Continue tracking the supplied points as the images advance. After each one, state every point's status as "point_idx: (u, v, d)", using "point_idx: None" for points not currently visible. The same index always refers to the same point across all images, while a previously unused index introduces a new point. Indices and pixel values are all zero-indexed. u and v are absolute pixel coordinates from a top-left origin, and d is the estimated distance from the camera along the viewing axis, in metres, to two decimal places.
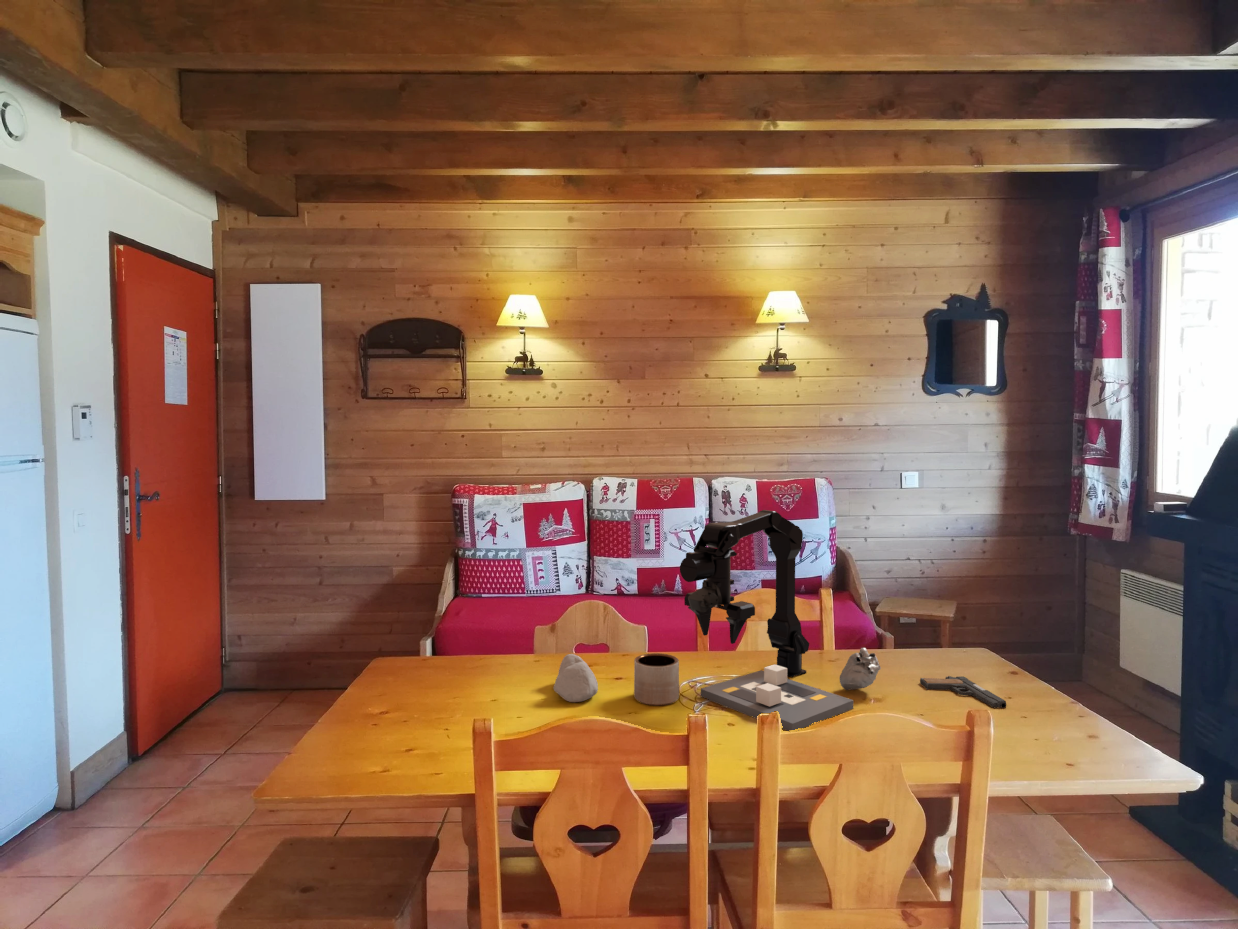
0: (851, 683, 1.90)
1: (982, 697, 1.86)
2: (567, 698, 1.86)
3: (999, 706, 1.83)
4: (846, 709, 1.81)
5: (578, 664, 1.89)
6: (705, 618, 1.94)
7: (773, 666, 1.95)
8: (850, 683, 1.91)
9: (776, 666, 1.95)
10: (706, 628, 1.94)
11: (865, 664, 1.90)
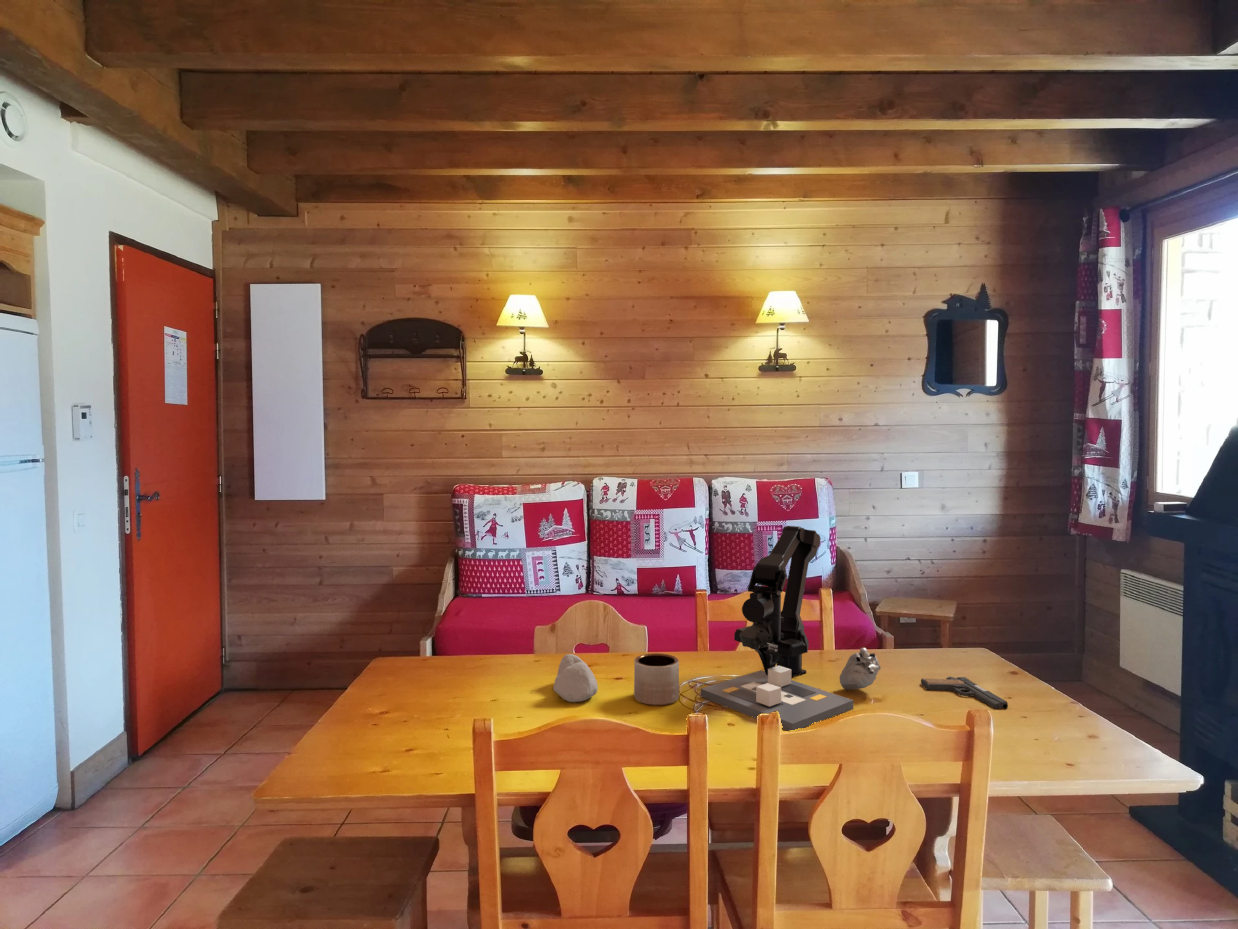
0: (851, 683, 1.90)
1: (984, 698, 1.86)
2: (567, 698, 1.86)
3: (1000, 707, 1.82)
4: (846, 709, 1.81)
5: (578, 664, 1.89)
6: None
7: (777, 667, 1.94)
8: (850, 683, 1.91)
9: (780, 667, 1.94)
10: None
11: (865, 664, 1.90)
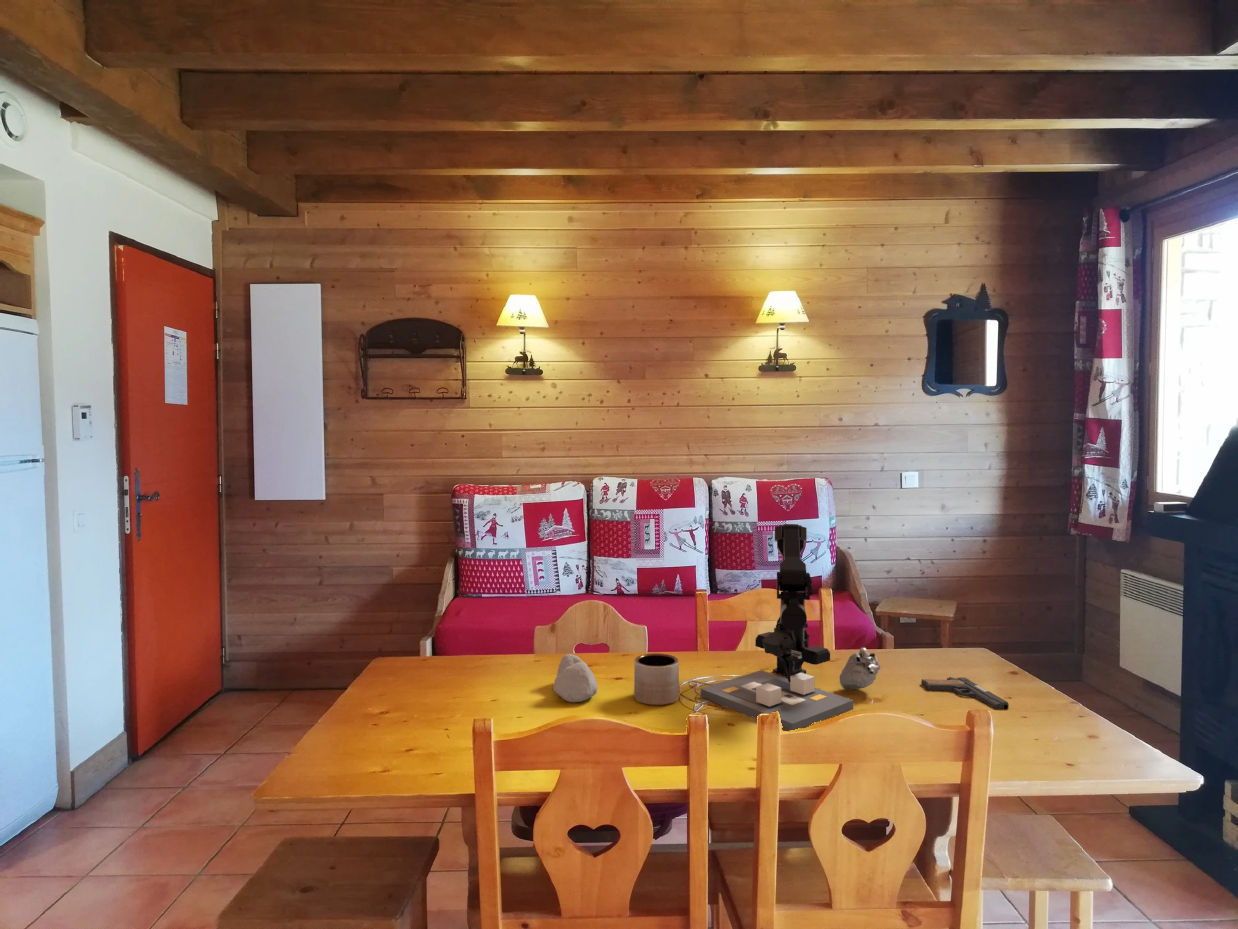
0: (851, 683, 1.90)
1: (984, 698, 1.86)
2: (567, 698, 1.86)
3: (1001, 707, 1.82)
4: (846, 709, 1.81)
5: (578, 664, 1.89)
6: None
7: (799, 674, 1.89)
8: (850, 683, 1.91)
9: (803, 674, 1.89)
10: None
11: (865, 664, 1.90)
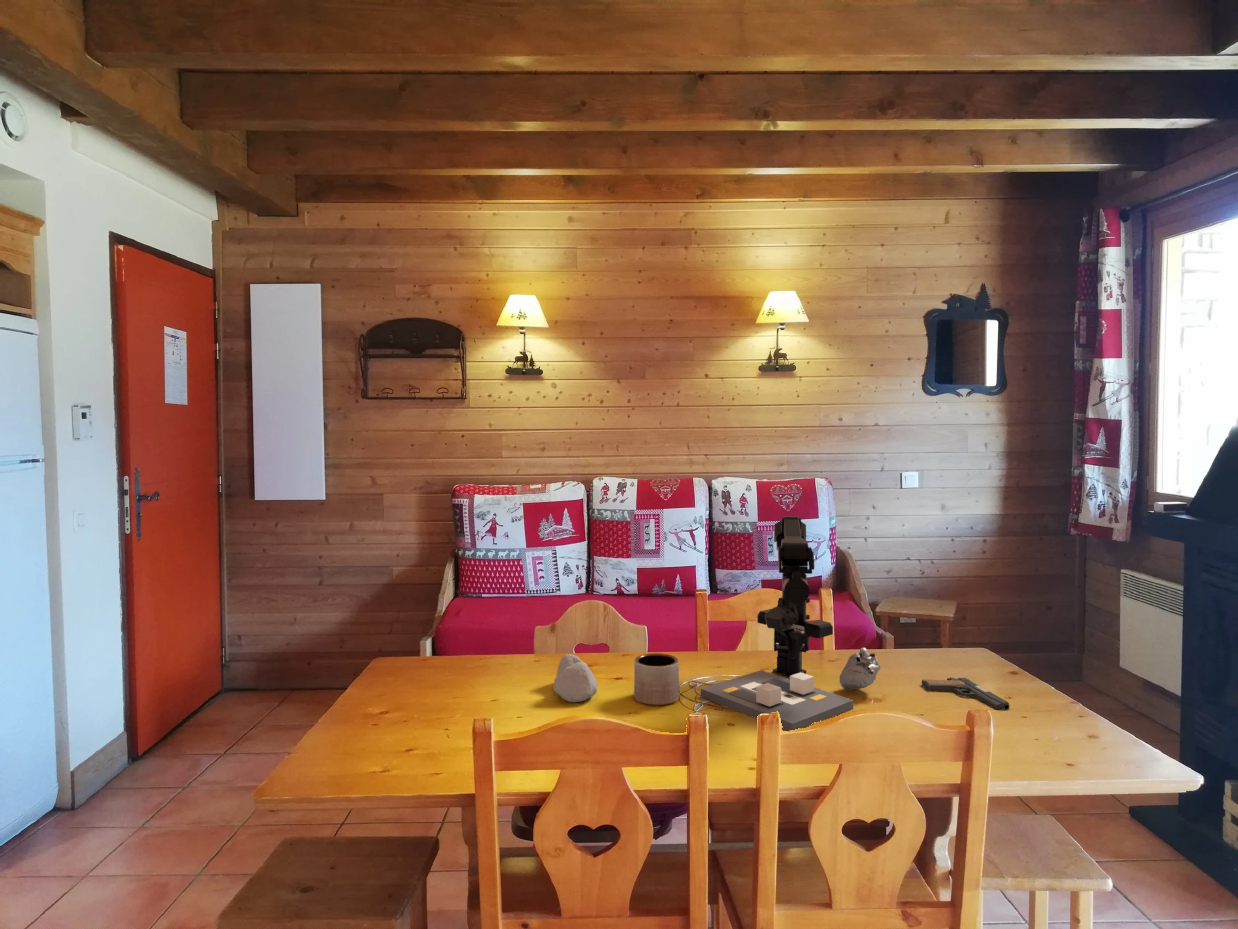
0: (851, 683, 1.90)
1: (985, 699, 1.86)
2: (567, 698, 1.86)
3: (1002, 708, 1.82)
4: (846, 709, 1.81)
5: (578, 664, 1.89)
6: None
7: (799, 674, 1.89)
8: (850, 683, 1.91)
9: (802, 674, 1.89)
10: None
11: (865, 664, 1.90)
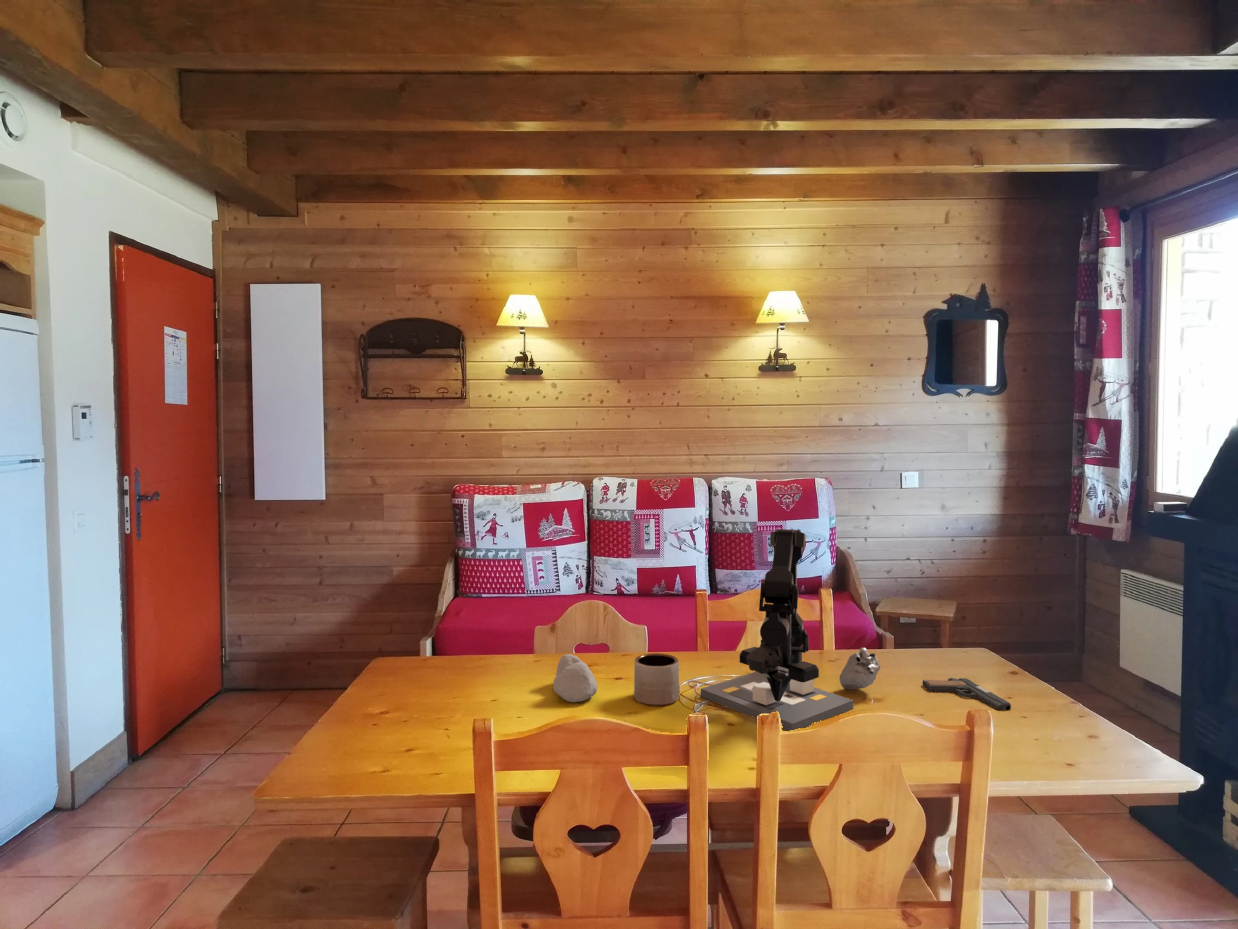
0: (851, 683, 1.90)
1: (987, 699, 1.85)
2: (567, 698, 1.86)
3: (1004, 708, 1.81)
4: (846, 709, 1.81)
5: (577, 664, 1.89)
6: None
7: None
8: (850, 683, 1.91)
9: None
10: None
11: (865, 664, 1.90)
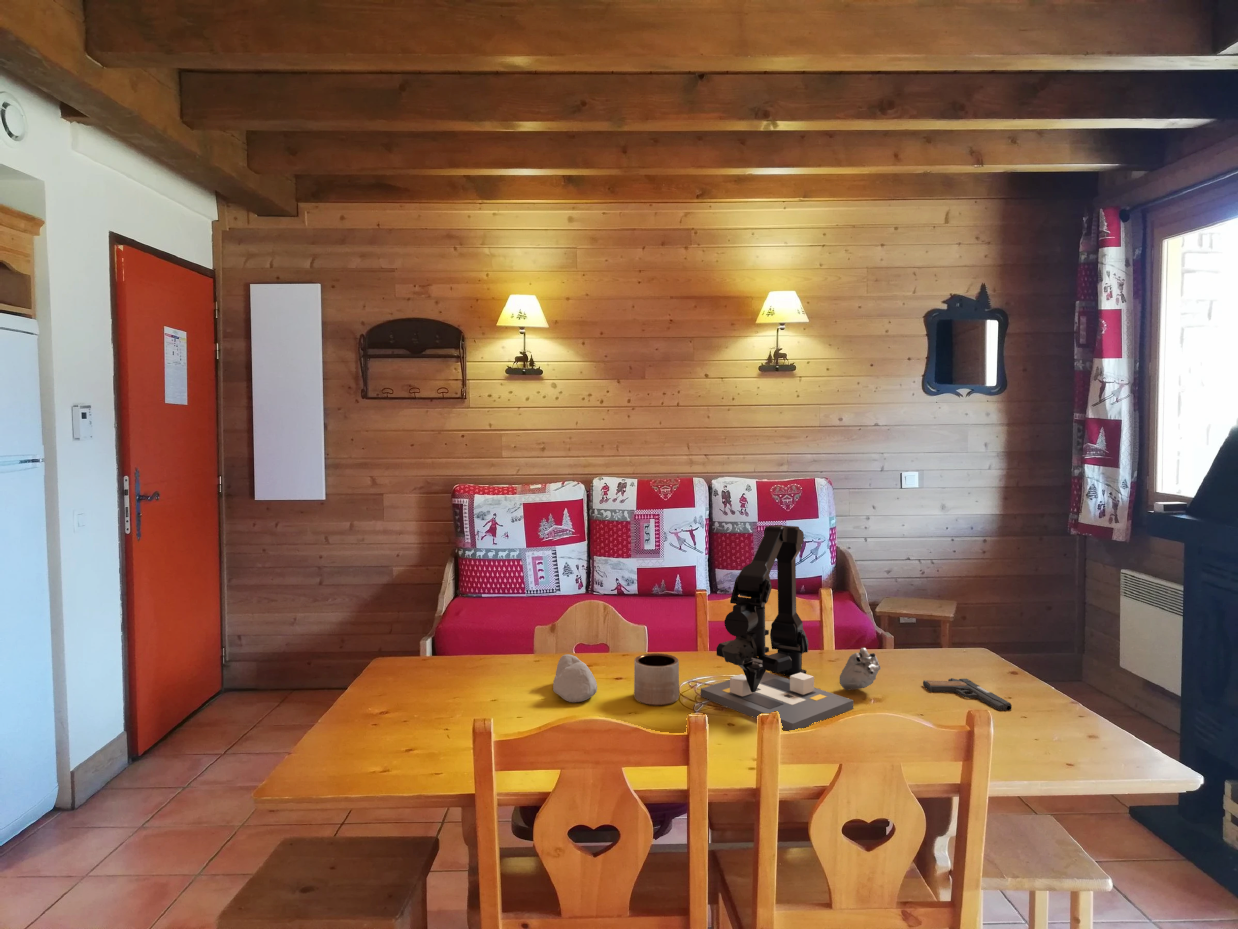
0: (851, 683, 1.90)
1: (987, 700, 1.85)
2: (567, 698, 1.86)
3: (1004, 709, 1.81)
4: (846, 709, 1.81)
5: (577, 664, 1.89)
6: None
7: (799, 674, 1.89)
8: (850, 683, 1.91)
9: (802, 674, 1.89)
10: None
11: (865, 664, 1.90)
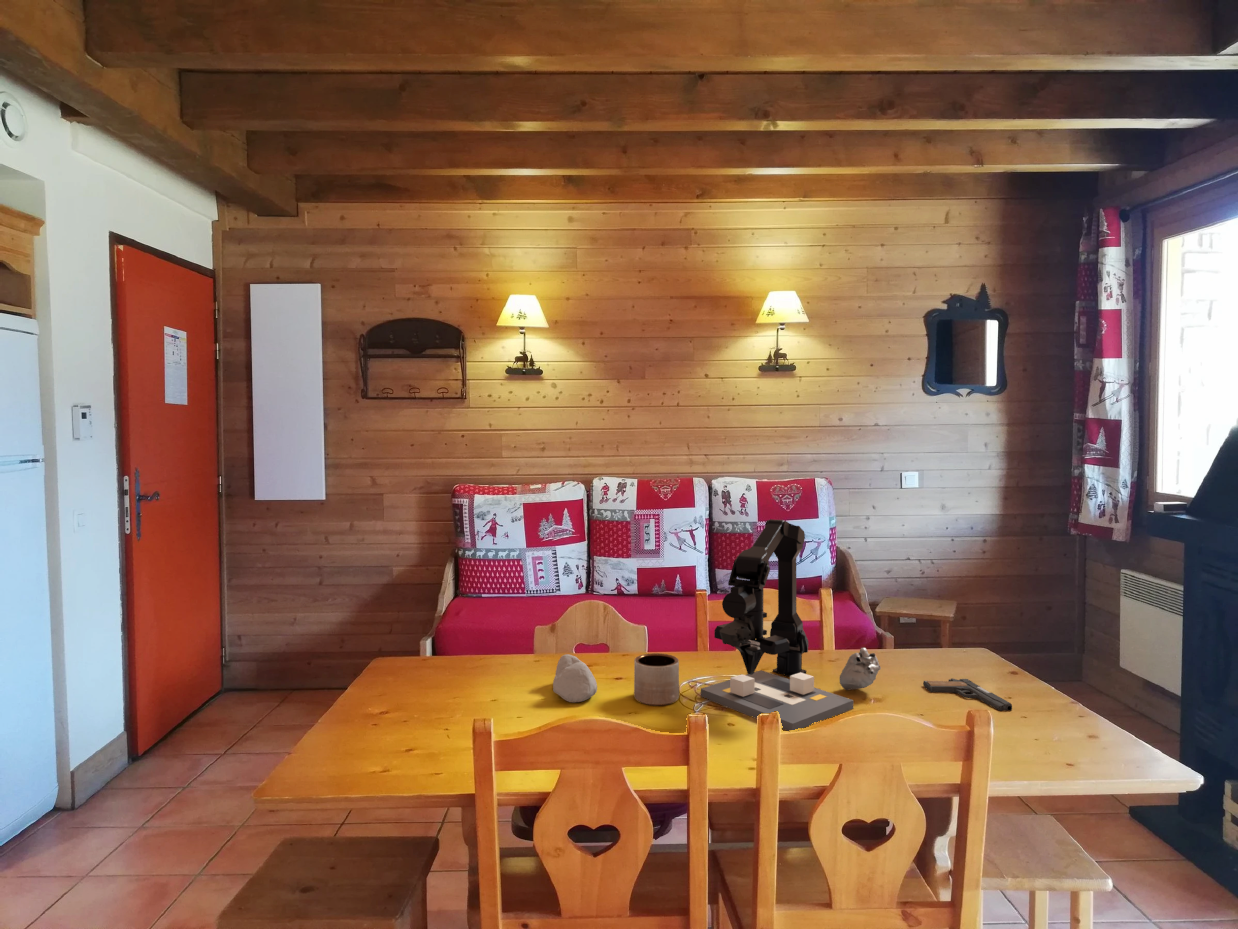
0: (851, 683, 1.90)
1: (988, 700, 1.85)
2: (568, 698, 1.86)
3: (1005, 709, 1.81)
4: (846, 709, 1.81)
5: (577, 664, 1.89)
6: None
7: (799, 674, 1.89)
8: (850, 683, 1.91)
9: (802, 674, 1.89)
10: None
11: (865, 664, 1.90)
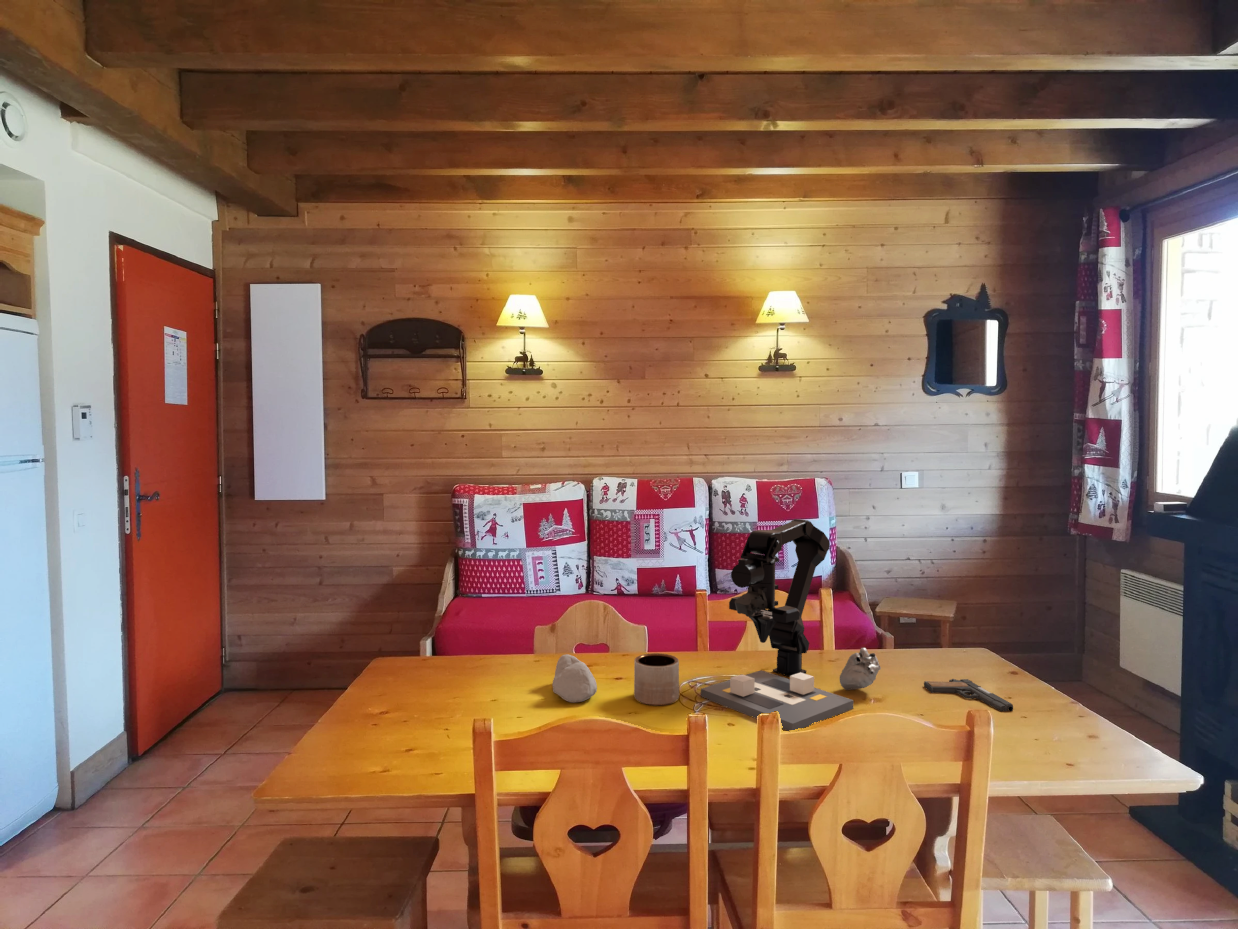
0: (851, 683, 1.90)
1: (989, 701, 1.84)
2: (568, 699, 1.86)
3: (1006, 709, 1.81)
4: (846, 709, 1.81)
5: (577, 664, 1.89)
6: None
7: (799, 674, 1.89)
8: (850, 683, 1.91)
9: (802, 674, 1.89)
10: None
11: (865, 664, 1.90)
